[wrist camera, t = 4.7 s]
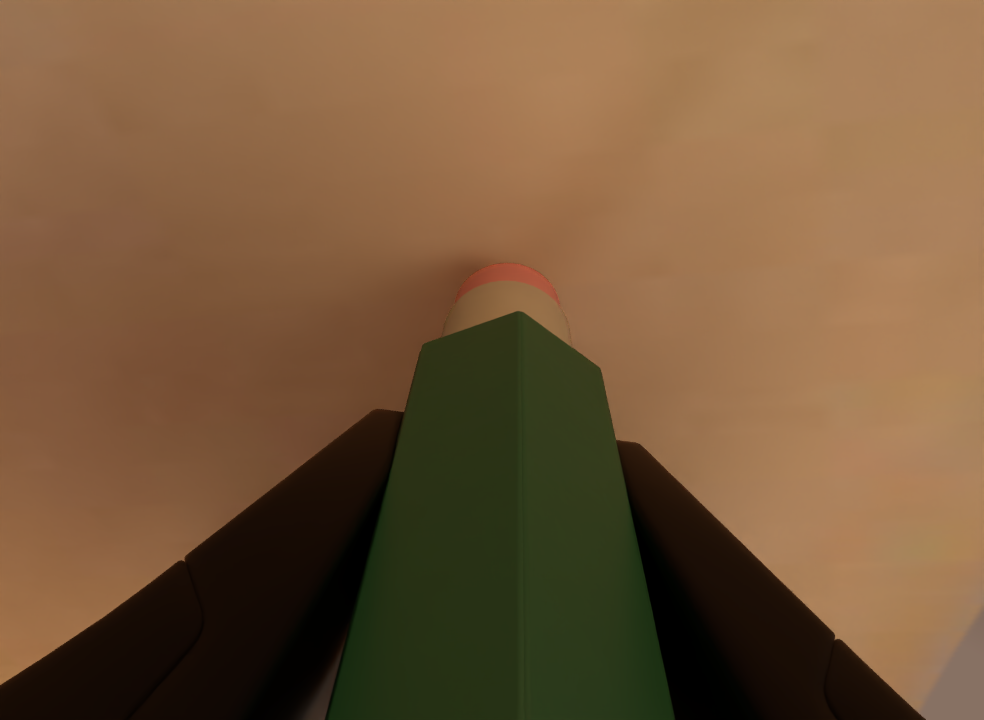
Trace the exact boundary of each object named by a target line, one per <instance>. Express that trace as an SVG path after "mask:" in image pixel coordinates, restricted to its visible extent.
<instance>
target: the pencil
mask: <svg viewBox="0 0 984 720" xmlns="http://www.w3.org/2000/svg"><path fill="white" fill-rule="evenodd" d="M325 720H675V715H674V711H673V706H672V701H671V696H670V692H669V687H668V682H667V678H666V673H665V668H664V664H663V659H662V654H661V650H660V645H659V640H658V635H657V631H656V626H655V621H654V617H653V612H652V607H651V603H650V598H649V593H648V589H647V584H646V579H645V574H644V570H643V565H642V560H641V556H640V551H639V546H638V542H637V537H636V532H635V527H634V523H633V518H632V513H631V509H630V504H629V499H628V495H627V490H626V485H625V481H624V476H623V471H622V466H621V462H620V457H619V452H618V448H617V443H616V438H615V434H614V429H613V424H612V420H611V415H610V410H609V405H608V401H607V396H606V391H605V387H604V382H603V377H602V373H601V369H600V368H599V367H598V366H597V365H595V364H594V363H593V362H591V361H590V360H588V359H587V358H586V357H584V356H583V355H582V354H580V353H579V352H578V351H576V350H575V349H573V348H572V344H571V337H570V331H569V325H568V322H567V319H566V317H565V315H564V312H563V311H562V309H561V308H560V302H559V299H558V295H557V293H556V291H555V289H554V288H553V286H552V285H551V283H550V282H549V281H548V280H547V279H546V278H545V277H544V276H543V275H542V274H540V273H539V272H537V271H536V270H534V269H532V268H529V267H527V266H524V265H520V264H515V263H499V264H493V265H490V266H487V267H484V268H482V269H480V270H478V271H477V272H475V273H474V274H472V275H471V276H470V277H469V278H468V279H467V280H466V281H465V282H464V283H463V285H462V286H461V287H460V289H459V291H458V293H457V296H456V298H455V303H454V305H453V307H452V308H451V310H450V311H449V313H448V315H447V317H446V320H445V323H444V327H443V332H442V337H441V338H438V339H435V340H432V341H430V342H427V343H424V344H423V345H422V348H421V351H420V353H419V357H418V360H417V364H416V368H415V372H414V376H413V380H412V384H411V387H410V391H409V395H408V399H407V403H406V407H405V411H404V415H403V418H402V422H401V426H400V430H399V434H398V438H397V443H396V449H395V453H394V457H393V461H392V465H391V469H390V473H389V477H388V481H387V484H386V487H385V489H384V492H383V496H382V500H381V504H380V507H379V511H378V515H377V519H376V523H375V527H374V531H373V534H372V538H371V542H370V546H369V550H368V554H367V558H366V562H365V565H364V569H363V573H362V577H361V581H360V585H359V589H358V593H357V596H356V600H355V604H354V608H353V612H352V616H351V620H350V623H349V627H348V631H347V635H346V639H345V643H344V647H343V651H342V654H341V658H340V662H339V666H338V670H337V674H336V678H335V681H334V685H333V689H332V693H331V697H330V701H329V705H328V709H327V712H326V716H325Z"/></svg>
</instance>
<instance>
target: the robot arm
mask: <svg viewBox="0 0 984 720" xmlns="http://www.w3.org/2000/svg"><path fill="white" fill-rule="evenodd" d="M403 415H404V412H399V411H391V410H384V409H375V410H373V411H371V412H370V413H369V414H367V415H366V416H365V417H363V418H362V419H361V420H360V421H358V422H357V423H356V424H354V425H353V426H352V427H351V428H349V429H348V430H347V431H345V432H344V433H343V434H342V435H340V436H339V437H338V438H336V439H335V440H334V441H333V442H331V443H330V444H329V445H327V446H326V447H325V448H324V449H322V450H321V451H320V452H318V453H317V454H316V455H315V456H313V457H312V458H311V459H309V460H308V461H307V462H306V463H304V464H303V465H302V466H300V467H299V468H298V469H297V470H295V471H294V472H293V473H291V474H290V475H289V476H288V477H286V478H285V479H284V480H282V481H281V482H280V483H279V484H277V485H276V486H275V487H273V488H272V489H271V490H270V491H268V492H267V493H266V494H264V495H263V496H262V497H261V498H259V499H258V500H257V501H255V502H254V503H253V504H252V505H250V506H249V507H248V508H246V509H245V510H244V511H243V512H241V513H240V514H239V515H237V516H236V517H235V518H234V519H232V520H231V521H230V522H228V523H227V524H226V525H225V526H223V527H222V528H221V529H219V530H218V531H217V532H216V533H214V534H213V535H212V536H210V537H209V538H208V539H207V540H205V541H204V542H203V543H201V544H200V545H199V546H198V547H196V548H195V549H194V550H192V551H191V552H190V553H189V554H187V555H186V556H185V559H184V560H185V562H184V561H182V560H180V561H178V562H177V563H175V564H174V565H173V566H171V567H170V568H169V569H168V570H166V571H165V572H164V573H162V574H161V575H160V576H158V577H157V578H156V579H155V580H153V581H152V582H151V583H149V584H148V585H147V586H145V587H144V588H143V589H141V590H140V591H139V592H137V593H136V594H134V595H133V596H132V597H130V598H129V599H128V600H126V601H125V602H124V603H122V604H121V605H120V606H118V607H117V608H115V609H114V610H113V611H111V612H110V613H109V614H107V615H106V616H105V617H103V618H102V619H100V620H99V621H97V622H96V623H94V624H93V625H91V626H90V627H88V628H87V629H85V630H84V631H82V632H81V633H79V634H78V635H76V636H75V637H73V638H72V639H70V640H69V641H67V642H66V643H64V644H63V645H61V646H60V647H58V648H57V649H55V650H54V651H52V652H51V653H50V654H48V655H47V656H45V657H43V658H42V659H40V660H39V661H37V662H36V663H34V664H33V665H31V666H29V667H28V668H26V669H25V670H23V671H22V672H20V673H19V674H17V675H15V676H14V677H12V678H11V679H9V680H8V681H6V682H5V683H3V684H1V685H0V720H325V716H326V712H327V709H328V705H329V701H330V697H331V693H332V689H333V685H334V681H335V678H336V674H337V670H338V666H339V662H340V658H341V654H342V651H343V647H344V643H345V639H346V635H347V631H348V627H349V623H350V620H351V616H352V612H353V608H354V604H355V600H356V596H357V593H358V589H359V585H360V581H361V577H362V573H363V569H364V565H365V562H366V558H367V554H368V550H369V546H370V542H371V538H372V534H373V531H374V527H375V523H376V519H377V515H378V511H379V507H380V504H381V500H382V496H383V492H384V489H385V487H386V484H387V481H388V477H389V473H390V469H391V465H392V461H393V457H394V453H395V449H396V443H397V438H398V434H399V430H400V426H401V422H402V418H403ZM616 443H617V448H618V452H619V457H620V462H621V466H622V471H623V476H624V481H625V485H626V490H627V495H628V499H629V504H630V509H631V513H632V518H633V523H634V527H635V532H636V537H637V542H638V546H639V551H640V556H641V560H642V565H643V570H644V574H645V579H646V584H647V589H648V593H649V598H650V603H651V607H652V612H653V617H654V621H655V626H656V631H657V635H658V640H659V645H660V650H661V654H662V659H663V664H664V668H665V673H666V678H667V682H668V687H669V692H670V696H671V701H672V706H673V711H674V715H675V720H926V719H925V718H923V717H922V716H921V715H920V714H919V713H918V712H917V711H916V710H914V709H913V708H912V707H911V706H910V705H909V704H908V703H907V702H906V701H905V700H904V699H903V698H902V697H901V696H900V695H899V694H897V693H896V692H895V691H894V690H893V689H892V688H891V687H890V686H889V685H888V684H887V683H886V682H885V681H884V680H883V679H881V678H880V677H879V676H878V675H877V674H876V673H875V672H874V671H873V670H872V669H871V668H870V667H869V666H868V665H867V664H866V663H865V662H864V661H863V660H862V659H860V658H859V657H858V656H857V655H856V654H855V653H854V652H853V651H852V650H851V649H850V648H849V647H848V646H847V645H846V644H845V643H844V642H843V641H842V640H840V639H836V640H835V634H834V633H833V632H832V631H831V630H830V629H829V628H828V627H827V626H826V625H825V624H824V623H823V622H822V621H821V620H820V619H819V618H818V617H817V616H816V615H815V614H814V613H813V612H812V611H811V610H810V609H809V608H808V607H807V606H806V605H805V604H804V603H803V602H802V601H801V600H800V599H799V598H798V597H797V596H796V595H794V594H793V593H792V592H791V591H790V590H789V589H788V588H787V587H786V586H785V585H784V584H783V583H782V582H781V581H780V580H779V579H778V578H777V577H776V576H775V575H774V574H773V573H772V572H771V571H770V570H769V569H768V568H767V567H766V566H765V565H764V564H763V563H762V562H761V561H760V560H759V559H758V558H757V557H755V556H754V555H753V554H752V553H751V552H750V551H749V550H748V549H747V548H746V547H745V546H744V545H743V544H742V543H741V542H740V541H739V540H738V539H737V538H736V537H735V536H734V535H733V534H732V533H731V532H730V531H729V530H728V529H727V528H726V527H725V526H724V525H723V524H722V523H721V522H720V521H719V520H718V519H716V518H715V517H714V516H713V515H712V514H711V513H710V512H709V511H708V510H707V509H706V508H705V507H704V506H703V505H702V504H701V503H700V502H699V501H698V500H697V499H696V498H695V497H694V496H693V495H692V494H691V493H690V492H689V491H688V490H687V489H686V488H685V487H684V486H683V485H682V484H681V483H680V482H679V481H677V480H676V479H675V478H674V477H673V476H672V475H671V474H670V473H669V472H668V471H667V470H666V469H665V468H664V467H663V466H662V465H661V464H660V463H659V462H658V461H657V460H656V459H655V458H654V457H653V456H652V455H651V454H650V453H649V452H648V451H647V450H646V449H645V448H644V447H643V446H641V445H640V444H638V443H635V442H628V441H620V440H616ZM834 640H835V641H834Z"/></svg>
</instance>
